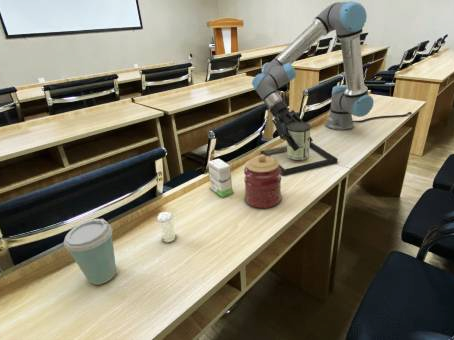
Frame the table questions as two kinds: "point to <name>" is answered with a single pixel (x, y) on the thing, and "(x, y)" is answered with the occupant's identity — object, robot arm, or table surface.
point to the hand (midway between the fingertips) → (303, 145)
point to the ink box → (220, 177)
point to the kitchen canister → (262, 182)
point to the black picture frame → (296, 169)
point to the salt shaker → (166, 226)
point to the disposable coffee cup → (93, 250)
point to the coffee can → (299, 140)
